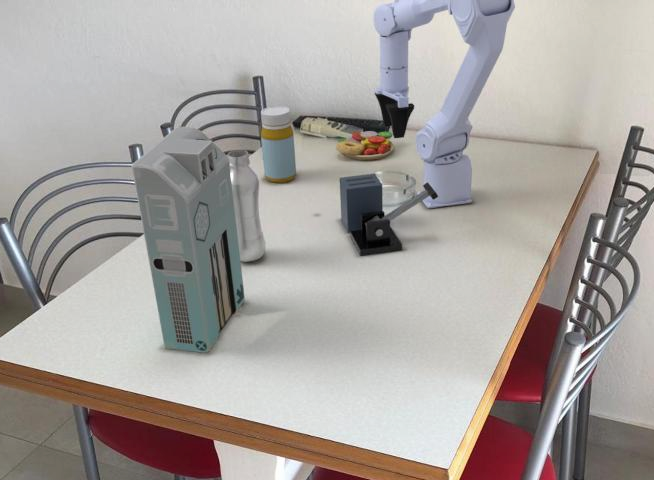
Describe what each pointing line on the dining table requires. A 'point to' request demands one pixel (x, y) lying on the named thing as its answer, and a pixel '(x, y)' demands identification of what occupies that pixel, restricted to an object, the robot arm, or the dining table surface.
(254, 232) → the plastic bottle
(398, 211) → the lever
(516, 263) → the dining table surface
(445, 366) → the dining table surface
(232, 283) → the device
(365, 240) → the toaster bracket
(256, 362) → the dining table surface
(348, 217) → the toaster body
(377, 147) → the toy food set
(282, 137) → the bottle
